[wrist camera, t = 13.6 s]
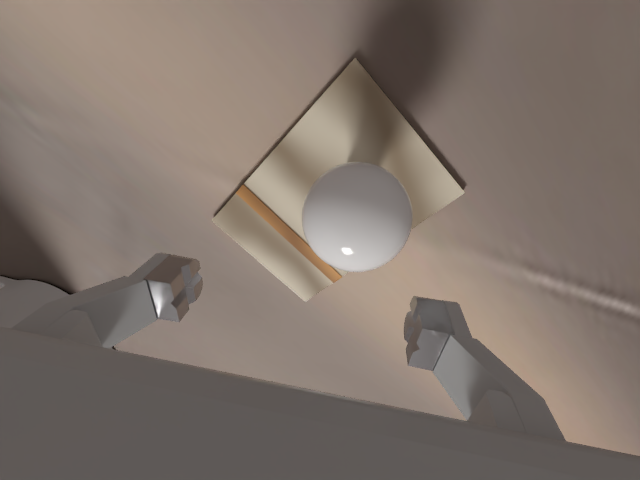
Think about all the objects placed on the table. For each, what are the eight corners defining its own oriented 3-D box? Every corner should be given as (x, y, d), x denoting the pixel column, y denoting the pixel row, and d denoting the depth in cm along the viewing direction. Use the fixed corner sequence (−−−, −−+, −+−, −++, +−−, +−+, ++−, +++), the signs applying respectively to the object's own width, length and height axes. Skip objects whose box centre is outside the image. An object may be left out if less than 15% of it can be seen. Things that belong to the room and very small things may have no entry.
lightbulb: (415, 164, 22) (451, 226, 13) (370, 226, 26) (372, 312, 16) (345, 122, 22) (329, 154, 12) (307, 191, 25) (270, 259, 15)
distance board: (306, 298, 32) (304, 302, 31) (213, 218, 29) (210, 221, 28) (463, 190, 23) (465, 193, 23) (355, 57, 20) (355, 57, 19)
